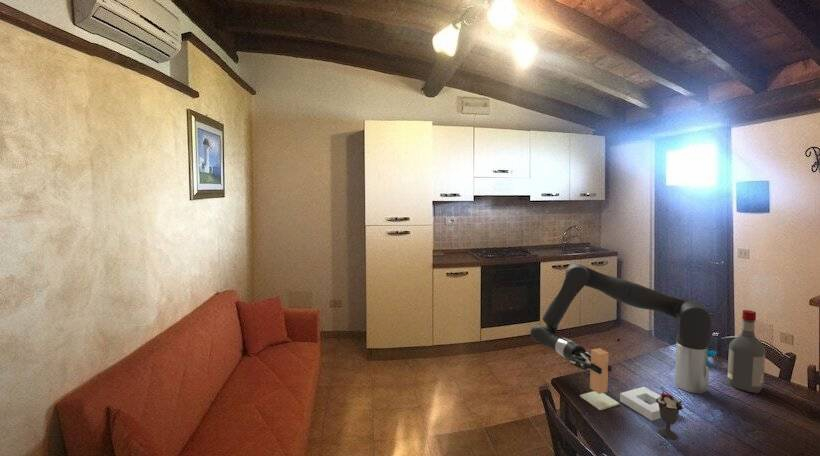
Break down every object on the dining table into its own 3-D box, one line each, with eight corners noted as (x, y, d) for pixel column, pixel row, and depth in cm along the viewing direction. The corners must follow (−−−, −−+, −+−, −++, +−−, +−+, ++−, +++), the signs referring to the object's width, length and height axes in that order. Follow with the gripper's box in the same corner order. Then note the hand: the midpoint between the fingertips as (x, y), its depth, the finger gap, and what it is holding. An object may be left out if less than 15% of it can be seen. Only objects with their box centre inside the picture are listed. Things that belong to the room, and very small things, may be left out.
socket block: (643, 394, 129) (643, 386, 129) (677, 412, 118) (677, 404, 117) (619, 400, 125) (620, 393, 125) (651, 420, 114) (652, 412, 114)
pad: (598, 391, 132) (598, 390, 132) (619, 404, 123) (619, 403, 123) (580, 396, 129) (580, 394, 129) (600, 410, 120) (600, 408, 120)
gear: (709, 355, 154) (720, 347, 146) (717, 368, 150) (728, 361, 142) (682, 357, 155) (691, 350, 148) (690, 371, 152) (699, 363, 144)
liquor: (764, 387, 131) (769, 312, 128) (758, 395, 126) (763, 317, 123) (732, 377, 138) (736, 306, 136) (725, 385, 133) (729, 311, 130)
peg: (598, 385, 128) (599, 348, 127) (607, 391, 124) (608, 352, 123) (589, 388, 127) (591, 349, 125) (598, 393, 123) (600, 354, 122)
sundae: (649, 427, 111) (651, 383, 109) (668, 425, 111) (670, 382, 110) (666, 441, 104) (668, 395, 103) (686, 440, 105) (688, 394, 103)
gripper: (555, 344, 136) (591, 364, 119) (583, 338, 140) (621, 357, 124) (555, 361, 136) (590, 384, 120) (583, 355, 141) (620, 376, 125)
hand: (605, 370), depth 122 cm, fingers closed on peg, 4 cm apart
